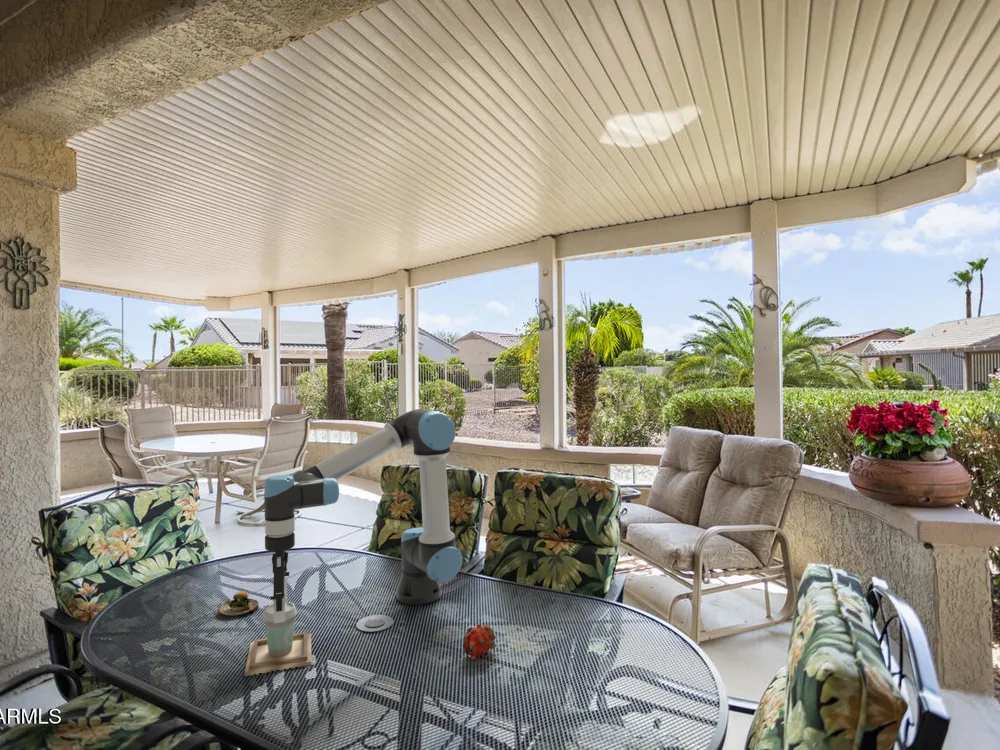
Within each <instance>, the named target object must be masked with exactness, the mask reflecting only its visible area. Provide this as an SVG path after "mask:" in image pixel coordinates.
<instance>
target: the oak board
mask: <svg viewBox="0 0 1000 750" xmlns="http://www.w3.org/2000/svg"><path fill="white" fill-rule="evenodd" d="M247 655H248V656H247V658H246V659H247V660H246V664H245V667H244V668H245V670H244V677H250V676H255V675H254V674H256V675H260V674H259V673H262V674H266V673H267V672H268V673H272V672H271V671H274V672H277V671H276V670H280V671H284V669H286V670H290V669H289V668H292V669H296V668H295V667H298V668H302V666H304V667H310V666H312V633H308V632H299V633H294V634H293V643H292V650H291V652H290V653H288V654H287V655H284V656H280V657H273V656H270V655H269V651H268V643H267V637H266V638H260V639H254V641H253V642H250V646H249V649H248V654H247ZM249 675H250V676H249Z"/></svg>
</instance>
